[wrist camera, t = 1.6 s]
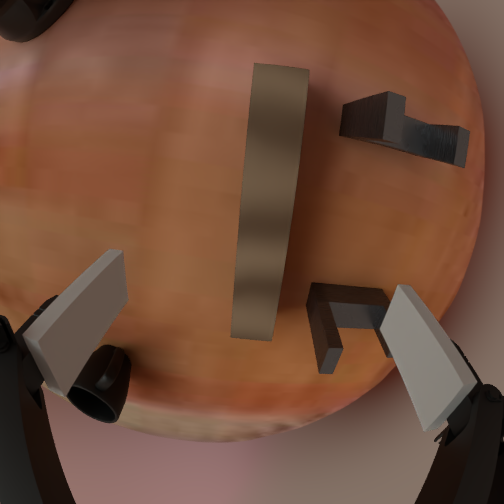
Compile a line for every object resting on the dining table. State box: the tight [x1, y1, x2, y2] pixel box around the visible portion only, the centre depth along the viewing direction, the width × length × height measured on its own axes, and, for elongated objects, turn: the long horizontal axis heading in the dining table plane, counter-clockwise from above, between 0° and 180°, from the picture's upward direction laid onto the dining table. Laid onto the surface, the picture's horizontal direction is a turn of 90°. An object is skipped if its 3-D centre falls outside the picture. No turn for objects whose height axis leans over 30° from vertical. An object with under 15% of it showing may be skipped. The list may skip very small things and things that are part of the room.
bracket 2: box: [339, 91, 470, 168], centre depth 18 cm, size 3×8×10 cm, turn 84°
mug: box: [66, 345, 131, 423], centre depth 31 cm, size 8×12×10 cm
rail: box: [231, 63, 309, 341], centre depth 24 cm, size 24×4×5 cm, turn 175°
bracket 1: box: [306, 282, 393, 374], centre depth 25 cm, size 3×8×10 cm, turn 84°
